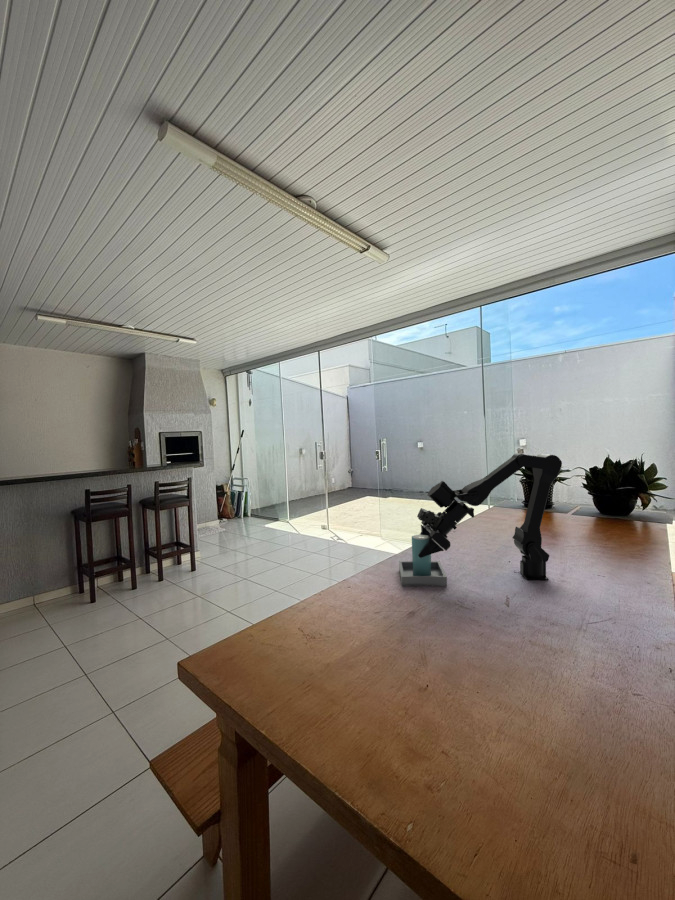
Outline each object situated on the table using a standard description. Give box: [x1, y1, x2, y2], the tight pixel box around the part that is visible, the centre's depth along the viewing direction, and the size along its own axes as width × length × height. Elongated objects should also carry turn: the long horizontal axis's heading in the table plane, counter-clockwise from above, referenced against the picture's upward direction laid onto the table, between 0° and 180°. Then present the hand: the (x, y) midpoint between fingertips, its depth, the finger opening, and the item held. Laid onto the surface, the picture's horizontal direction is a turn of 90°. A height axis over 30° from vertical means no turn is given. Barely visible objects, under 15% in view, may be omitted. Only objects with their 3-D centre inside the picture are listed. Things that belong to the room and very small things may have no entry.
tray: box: [398, 560, 448, 587], centre depth 125 cm, size 14×14×3 cm
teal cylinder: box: [411, 534, 432, 576], centre depth 125 cm, size 6×6×13 cm
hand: (416, 551), depth 125 cm, fingers open, 9 cm apart
